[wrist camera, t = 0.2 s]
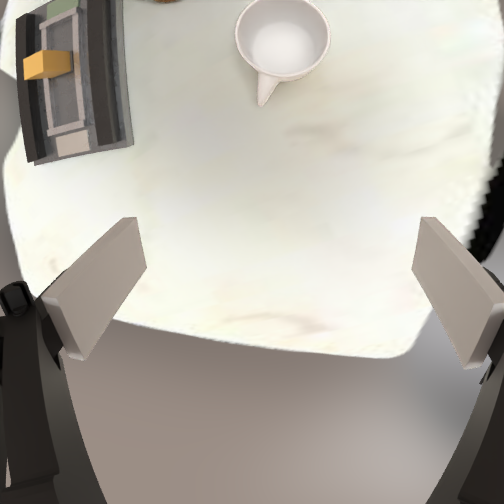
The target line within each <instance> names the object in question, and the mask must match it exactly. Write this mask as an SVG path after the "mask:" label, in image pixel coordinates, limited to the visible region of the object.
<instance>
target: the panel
mask: <svg viewBox="0 0 504 504" xmlns="http://www.w3.org/2000/svg"><path fill="white" fill-rule="evenodd" d="M41 50H57V51H73V56H74V71H72V72H70V73H67V74H64V75H61V76H59V77H56V78H54V79H50V78H45V79H32V80H24V63H23V59H25V58H27V57H29V56H31V55H33V54H35V53H37V52H39V51H41ZM16 73H17V88H18V99H19V108H20V117H21V125H22V132H23V139H24V145H25V151H26V156H27V161H28V163H29V162H32V161H34V166H36V165H40V164H44V163H48V162H53V161H57V160H62V159H66V158H71V157H76V156H80V155H85V154H91V153H96V152H101V151H107V150H113V149H119V148H125V147H129V146H131V145H134V141H133V133H132V125H131V117H130V109H129V99H128V89H127V78H126V66H125V52H124V34H123V3H122V0H52V1H50V2H48V3H46V4H44V5H42V6H40V7H39V8H37V9H35V10H33V11H31V12H30V13H26V14H24V15H22V16H21V17H19V18H17V19H16Z"/></svg>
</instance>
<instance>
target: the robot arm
mask: <svg viewBox="0 0 504 504" xmlns="http://www.w3.org/2000/svg"><path fill="white" fill-rule="evenodd" d="M146 269H147V266H146V261H145V257H144V252H143V247H142V243H141V238H140V233H139V228H138V223H137V217H128V218H122V219H121V220H120V221H118V222H117V223H116V224H115V225H114V226H113V227H112V228H111V229H109V230H108V231H107V232H106V233H105V234H104V235H103V236H102V237H101V238H100V239H98V240H97V241H96V242H95V243H94V244H93V245H92V246H91V247H90V248H89V249H88V250H87V251H86V252H85V253H83V254H82V255H81V256H80V257H79V258H78V259H77V260H76V261H75V262H74V263H73V264H72V265H71V266H70V267H69V268H68V269H66V270H65V271H63V272H62V273H61V274H60V275H59V276H58V277H57V278H56V280H54V281H53V282H52V283H51V285H49V286H48V287H47V288H46V289H45V290H44V291H43V292H42V293H41V294H40V295H39V297H38V298H37V299H36V300H35V301H34V300H33V297H32V295H31V293H30V290H29V288H28V285H27V283H26V282H25V281H16V282H13V283H11V284H9V285H7V286H5V287H4V288H2V289H1V290H0V305H1V307H2V309H3V311H4V313H5V316H1V317H0V504H107V502H106V500H105V497H104V495H103V493H102V491H101V488H100V486H99V483H98V481H97V478H96V475H95V473H94V470H93V468H92V465H91V462H90V459H89V456H88V454H87V451H86V448H85V445H84V442H83V439H82V435H81V432H80V429H79V426H78V422H77V419H76V415H75V411H74V408H73V404H72V400H71V396H70V392H69V388H68V384H67V379H66V375H65V370H64V365H63V360H62V358H61V356H60V354H59V351H60V350H61V348H62V347H63V346H64V348H65V350H66V352H67V354H68V356H69V358H74V359H79V360H84V361H85V360H86V359H87V357H88V355H89V354H90V352H91V351H92V349H93V348H94V346H95V344H96V343H97V341H98V340H99V338H100V336H101V335H102V333H103V332H104V330H105V329H106V327H107V326H108V324H109V322H110V321H111V320H112V318H113V317H114V315H115V314H116V312H117V311H118V309H119V308H120V306H121V305H122V303H123V302H124V300H125V299H126V297H127V296H128V294H129V293H130V292H131V290H132V289H133V287H134V286H135V284H136V283H137V281H138V280H139V279H140V277H141V276H142V274H143V273H144V272H145V270H146ZM412 271H413V273H414V275H415V276H416V278H417V280H418V281H419V283H420V285H421V287H422V288H423V290H424V292H425V294H426V295H427V297H428V299H429V301H430V303H431V304H432V306H433V308H434V310H435V312H436V314H437V315H438V317H439V319H440V321H441V323H442V325H443V327H444V329H445V331H446V333H447V335H448V337H449V339H450V341H451V343H452V345H453V347H454V349H455V351H456V353H457V355H458V357H459V359H460V361H461V364H462V366H463V368H464V369H470V368H476V367H481V365H482V364H483V362H484V360H485V358H486V356H487V354H488V355H489V357H490V358H491V360H492V362H491V364H490V366H489V367H488V369H487V371H486V373H485V374H484V377H483V378H482V380H481V381H480V383H479V384H482V383H483V385H482V387H481V390H480V393H479V396H478V398H477V401H476V404H475V406H474V409H473V412H472V414H471V416H470V419H469V421H468V424H467V426H466V429H465V430H464V433H463V435H462V437H461V439H460V441H459V444H458V446H457V448H456V450H455V452H454V454H453V456H452V458H451V460H450V462H449V464H448V466H447V468H446V469H445V472H444V473H443V475H442V477H441V479H440V480H439V482H438V484H437V486H436V487H435V489H434V491H433V492H432V494H431V496H430V498H429V499H428V501H427V502H426V504H504V286H503V284H502V283H500V281H499V280H498V278H497V277H496V276H495V275H494V274H493V273H492V272H490V271H489V270H487V269H486V268H485V267H482V266H481V265H480V264H479V263H478V261H477V260H476V259H475V258H474V257H473V256H472V255H471V254H470V253H469V252H468V250H467V249H466V248H465V247H464V246H463V245H462V244H461V243H460V242H459V241H458V240H457V239H456V238H455V237H454V236H453V235H452V234H451V232H450V231H449V230H448V229H447V228H446V227H445V226H444V225H443V224H442V223H441V222H440V221H439V220H438V219H437V218H436V217H421V221H420V227H419V233H418V239H417V245H416V250H415V255H414V260H413V265H412ZM7 458H8V465H9V471H10V477H11V485H10V487H7V488H6V467H7Z"/></svg>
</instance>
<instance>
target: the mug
mask: <svg viewBox="0 0 504 504" xmlns="http://www.w3.org/2000/svg"><path fill="white" fill-rule="evenodd" d="M235 41H236V45H237V48H238V50H239V52H240V54H241V55H242V57H243V58H244V59H245V60H246V62H248V63H249V64H250V65H251V66H252V67H253V68H254V69H255V70H256V71H258V86H257V102H258V105H259V106H260V107H262V106H263V105H264V104H265V103H266V101H267V100H268V99H269V97H270V96H271V94H272V92H273V91H274V89H275V88H276V86H277V85H278V83H279V82H280V81H294V80H297V79H300V78H302V77H304V76H306V75H307V74H309V73H310V72H311V71H312V70H313V69H314V68H315V67H316V66H317V65H318V64H319V63H320V62H321V61H322V60H323V58H324V57H325V56H326V54H327V52H328V49H329V46H330V41H331V32H330V27H329V24H328V21H327V19H326V17H325V16H324V14H323V13H322V12H321V10H320V9H319V8H318V7H317V6H316V5H314V4H313V3H312V2H310V1H309V0H254V1H253V2H251V3H250V4H249V5H248V6H247V7H246V8H245V9H244V10H243V11H242V13H241V14H240V16H239V18H238V20H237V23H236V26H235Z"/></svg>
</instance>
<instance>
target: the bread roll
mask: <svg viewBox="0 0 504 504" xmlns="http://www.w3.org/2000/svg"><path fill="white" fill-rule="evenodd" d="M154 1H158V2H165V3H166V2H170V1H175V0H154Z"/></svg>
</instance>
